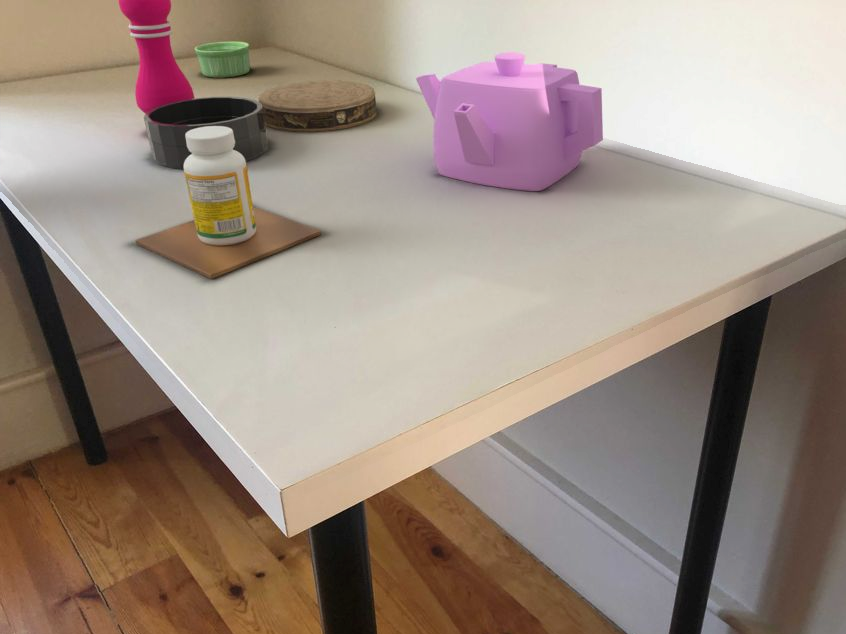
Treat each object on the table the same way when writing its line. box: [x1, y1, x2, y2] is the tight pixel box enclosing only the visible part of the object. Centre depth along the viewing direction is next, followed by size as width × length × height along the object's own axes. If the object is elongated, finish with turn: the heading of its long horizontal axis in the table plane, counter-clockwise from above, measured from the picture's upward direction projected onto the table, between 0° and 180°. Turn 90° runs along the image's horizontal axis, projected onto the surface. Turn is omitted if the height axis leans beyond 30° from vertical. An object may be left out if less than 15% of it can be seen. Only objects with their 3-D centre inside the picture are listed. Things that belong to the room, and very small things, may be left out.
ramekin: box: [194, 40, 251, 79], centre depth 135 cm, size 9×9×4 cm
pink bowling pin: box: [118, 0, 196, 114], centre depth 100 cm, size 7×7×20 cm
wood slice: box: [258, 80, 378, 133], centre depth 110 cm, size 16×16×3 cm
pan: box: [143, 96, 269, 170], centre depth 96 cm, size 14×14×5 cm
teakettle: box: [415, 51, 604, 192], centre depth 86 cm, size 17×17×12 cm
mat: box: [135, 206, 322, 280], centre depth 73 cm, size 12×12×1 cm
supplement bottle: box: [183, 126, 256, 246], centre depth 71 cm, size 5×5×10 cm
